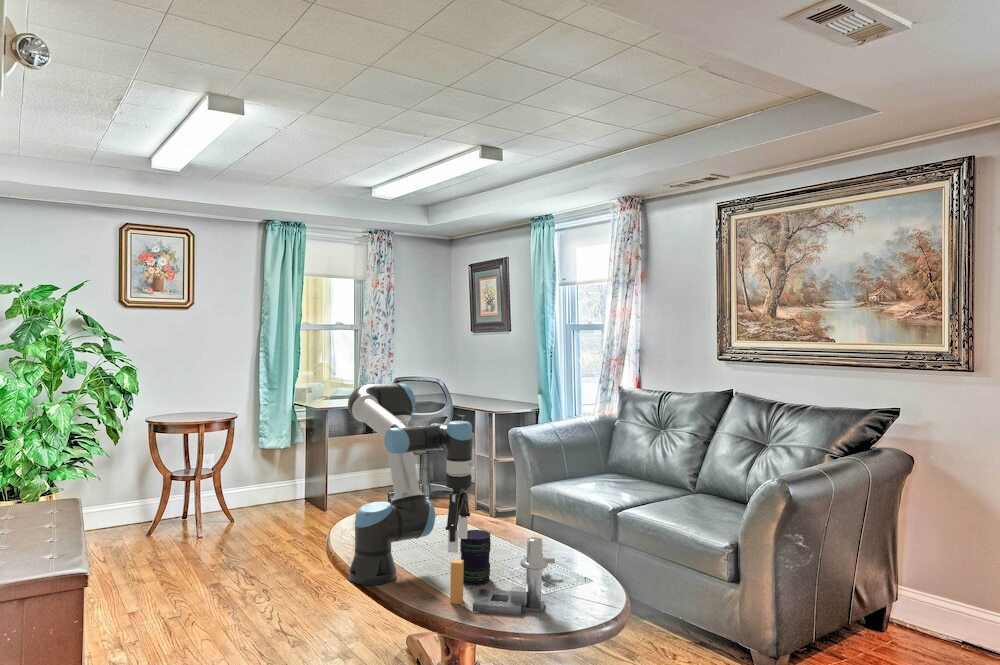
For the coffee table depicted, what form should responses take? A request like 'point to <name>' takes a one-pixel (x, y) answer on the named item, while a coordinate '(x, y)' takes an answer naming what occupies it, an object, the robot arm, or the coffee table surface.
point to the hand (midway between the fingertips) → (458, 545)
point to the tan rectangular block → (456, 581)
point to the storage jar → (476, 557)
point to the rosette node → (517, 597)
